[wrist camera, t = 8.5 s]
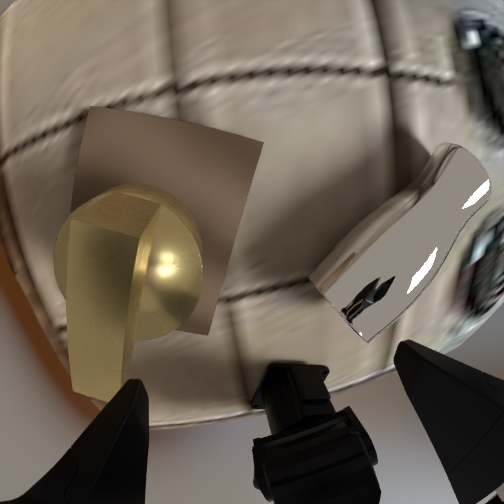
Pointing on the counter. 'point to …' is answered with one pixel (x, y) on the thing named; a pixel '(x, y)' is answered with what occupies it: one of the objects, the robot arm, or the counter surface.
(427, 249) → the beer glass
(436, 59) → the counter surface
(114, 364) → the cap
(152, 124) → the base
